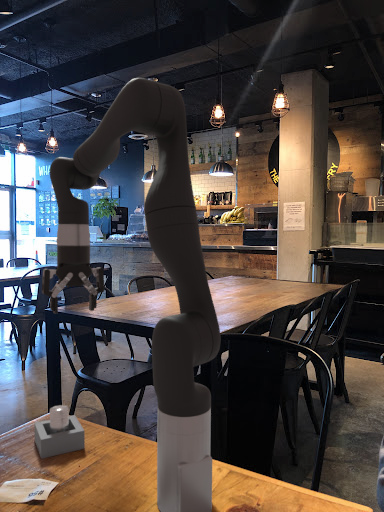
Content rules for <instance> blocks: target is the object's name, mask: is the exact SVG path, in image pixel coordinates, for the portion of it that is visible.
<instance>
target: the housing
mask: <svg viewBox="0 0 384 512" xmlns="http://www.w3.org/2000/svg"><path fill="white" fill-rule="evenodd" d="M33 424H34V425H33V426H34V427H33V428H34V442H35V446H36V447H37V450H38V454H39V456H40V460H42V459H45V458H49V457H54V456H58V455H63V454H67V453H72V452H76V451H81V450H84V449H85V445H86V444H85V429H84V428H83V426H82V425H81V422H80V421H79V419H78V418H77V416H76V415H75V414H73V415H69V431H65V432H60V433H55V434H51V435H50V419H47V420H41V421H37V422H34V423H33Z"/></svg>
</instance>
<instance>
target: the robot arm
mask: <svg viewBox="0 0 384 512" xmlns="http://www.w3.org/2000/svg"><path fill="white" fill-rule="evenodd" d="M184 101H185V100H184V98H183V95H182V94H181V92H180V91H179V90H178V89H177V87H176V88H175V87H173V86H171V85H170V84H166V83H163V82H160V81H156V80H152V79H149V78H144V77H135V78H132V79H131V80H130V81H128V82H127V83H126V84H125V85H124V86H122V88H121V90H120V91H119V92H118V94H117V96H116V97H115V99H114V101H113V102H112V104H111V105H110V106H109V108H108V110H107V111H106V113H105V114H104V116H103V118H102V120H101V121H100V122H99V124H98V126H97V127H96V128H95V130H94V131H93V133H91V135H89V137H88V138H86V139H85V140H84V141H83V142H82V143H81V144H80V145H79V146H78V147H77V148H76V150H75V151H74V152H73V156H72V157H70V158H69V157H64V156H59V157H56V158H55V159H53V161H52V162H51V164H50V168H49V179H50V182H51V185H52V186H51V187H52V189H53V192H54V197H55V200H56V205H57V224H58V225H57V233H56V254H57V255H56V260H57V262H56V267H55V269H49V268H43V269H42V280H41V282H42V283H41V293H42V294H43V295H44V296H48V297H49V303H50V304H49V306H50V307H49V308H50V311H51V312H53V314H58V313H59V299H58V298H59V297H58V295H59V294H60V293H61V291H63V289H65V287H67V288H71V287H82V286H83V287H85V288H86V290H87V291H88V293H89V294H88V310H89V311H91V312H93V311H95V309H97V299H98V298H97V296H98V294H101V293H104V292H105V288H106V287H105V277H104V276H105V275H104V269H103V267H100V266H99V267H96V268H95V267H93V268H92V267H91V234H90V219H89V218H90V208H89V207H90V206H89V204H88V202H87V201H86V200H85V199H81V198H79V197H76V196H74V194H73V192H72V191H71V190H81V191H83V190H84V191H85V190H89V189H92V188H93V187H94V186H95V185H96V183H97V180H98V179H99V177H100V175H101V173H102V172H103V171H104V170H106V168H108V167H109V166H110V165H112V164H113V163H114V161H116V160H117V158H118V156H119V155H120V154H119V153H120V148H121V138H122V137H123V136H124V135H127V134H128V133H130V132H137V133H140V134H145V135H152V136H155V138H156V143H157V149H158V166H157V170H156V172H155V175H154V177H153V179H152V181H151V184H150V186H149V189H148V191H147V194H146V197H145V200H144V206H143V208H144V209H143V210H144V219H145V224H146V225H145V226H146V232H147V239H148V242H149V245H150V247H151V249H152V251H153V253H154V255H155V256H156V258H157V260H158V261H159V262H160V263H161V264H160V265H162V267H163V268H164V270H165V271H166V272H167V275H168V276H169V278H170V279H171V281H172V283H173V286H174V288H175V291H176V295H177V300H178V301H177V302H178V304H179V313H178V314H174V315H168V316H165V317H162V318H161V319H159V320H158V321H157V322H156V324H155V325H154V328H153V330H152V331H153V332H152V338H151V360H152V363H151V365H152V381H153V382H152V384H153V389H154V392H155V396H156V399H157V418H156V419H157V421H156V423H157V424H156V427H157V429H156V431H157V433H156V434H157V436H156V437H157V438H156V439H157V441H156V442H157V443H156V451H157V453H156V456H157V457H156V469H157V470H156V475H157V476H156V487H157V488H156V491H157V492H156V505H157V508H158V510H159V512H212V510H213V509H212V508H213V457H212V456H211V431H212V430H211V428H212V427H211V425H212V424H211V423H212V422H211V421H212V416H211V415H212V413H211V412H212V411H211V410H212V394H211V391H210V389H209V387H207V386H206V385H203V384H201V383H199V382H195V373H194V367H197V366H200V365H203V364H206V363H209V362H211V361H212V360H214V359H215V358H216V357H217V355H218V354H219V351H220V348H221V339H222V338H221V329H220V325H219V320H218V317H217V313H216V308H215V304H214V301H213V297H212V294H211V289H210V284H209V282H208V281H209V280H208V276H207V271H206V265H205V259H204V253H203V247H202V243H201V236H200V227H199V219H198V213H197V208H196V202H195V197H194V196H195V195H194V190H193V184H192V183H193V182H192V176H191V167H190V161H189V160H190V159H189V147H188V146H189V145H188V128H187V125H188V124H187V114H186V105H185V102H184ZM54 275H55V276H56V277H57V278H58V280H57V282H56V283H55V285H54V287H52V289H51V290H50V285H51V284H50V280H51V279H53V278H54ZM92 275H93V276H94V277H95V280H96V287H94V286H93V283H92V282H90V280H89V278H90V277H91V276H92Z"/></svg>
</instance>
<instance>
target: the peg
mask: <svg viewBox="0 0 384 512" xmlns="http://www.w3.org/2000/svg"><path fill="white" fill-rule="evenodd" d="M69 408H70V407H69V406H67V405H65V404H64V405H63V404H59V405H54V406H52V407H50V408H49V420H50V435H51V434H55V433H60V432H65V431H69V416H70V415H69V412H70V411H69V410H70V409H69Z"/></svg>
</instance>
